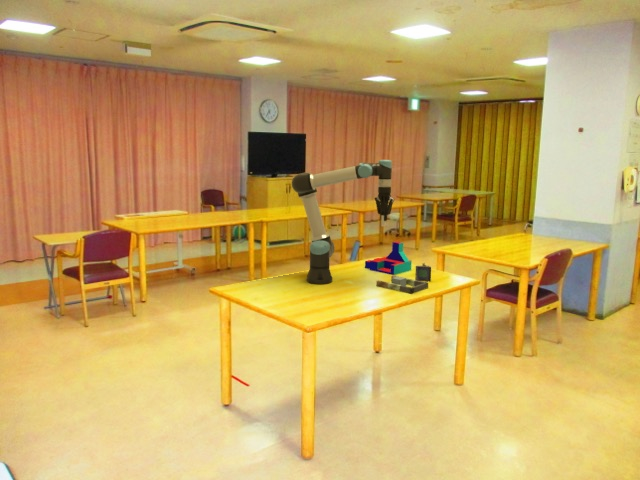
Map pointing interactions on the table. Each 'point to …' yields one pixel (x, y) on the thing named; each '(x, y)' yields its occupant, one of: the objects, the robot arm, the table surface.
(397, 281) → the block
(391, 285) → the channel rails
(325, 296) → the table surface
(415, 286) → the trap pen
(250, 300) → the table surface
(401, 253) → the building blocks toy
